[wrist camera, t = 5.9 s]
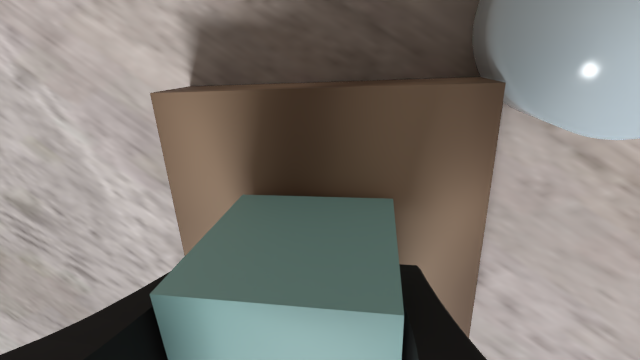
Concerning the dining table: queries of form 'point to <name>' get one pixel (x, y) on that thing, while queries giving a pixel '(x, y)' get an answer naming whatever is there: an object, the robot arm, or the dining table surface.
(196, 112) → the walnut base
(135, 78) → the dining table surface
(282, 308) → the teal cube
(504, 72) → the pale blue soap bar
